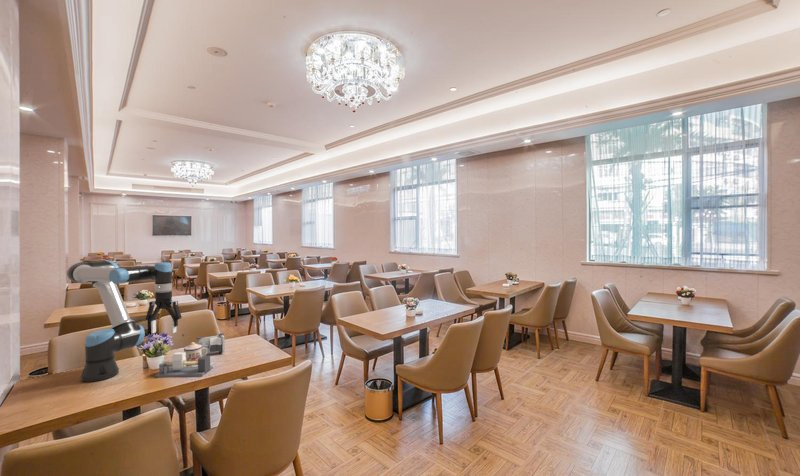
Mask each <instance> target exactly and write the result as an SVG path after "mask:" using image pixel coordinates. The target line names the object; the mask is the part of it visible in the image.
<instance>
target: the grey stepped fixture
mask: <svg viewBox="0 0 800 476" xmlns="http://www.w3.org/2000/svg"><path fill="white" fill-rule="evenodd" d="M182 364H183V365H186V366H185V367H183V368H182V369H172V361H169V360H166V361H162V362H161V363H160V364H159V365H158V367H159V369H158V373H156V374H155V378H178V377H179V378H180V377H181V378H182V377H189V378H190V377H191V378H192V377H203V376H205V375H206V374H208V373H209V372H210V371H211V370H213V369H214V366H212V365H211V355H205V356H202V357H201V358H199V359H198V361H193V362H182Z"/></svg>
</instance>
